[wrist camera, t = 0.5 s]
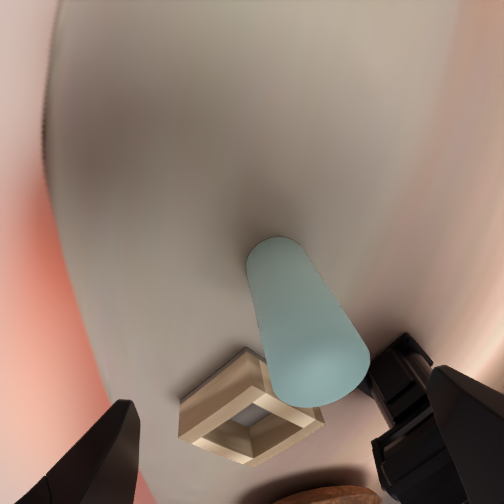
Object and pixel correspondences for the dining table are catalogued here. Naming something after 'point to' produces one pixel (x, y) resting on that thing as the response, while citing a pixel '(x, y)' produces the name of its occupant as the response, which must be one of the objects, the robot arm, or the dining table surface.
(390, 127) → the dining table surface
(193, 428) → the socket
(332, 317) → the peg
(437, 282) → the dining table surface
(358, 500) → the bowl
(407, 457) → the robot arm
